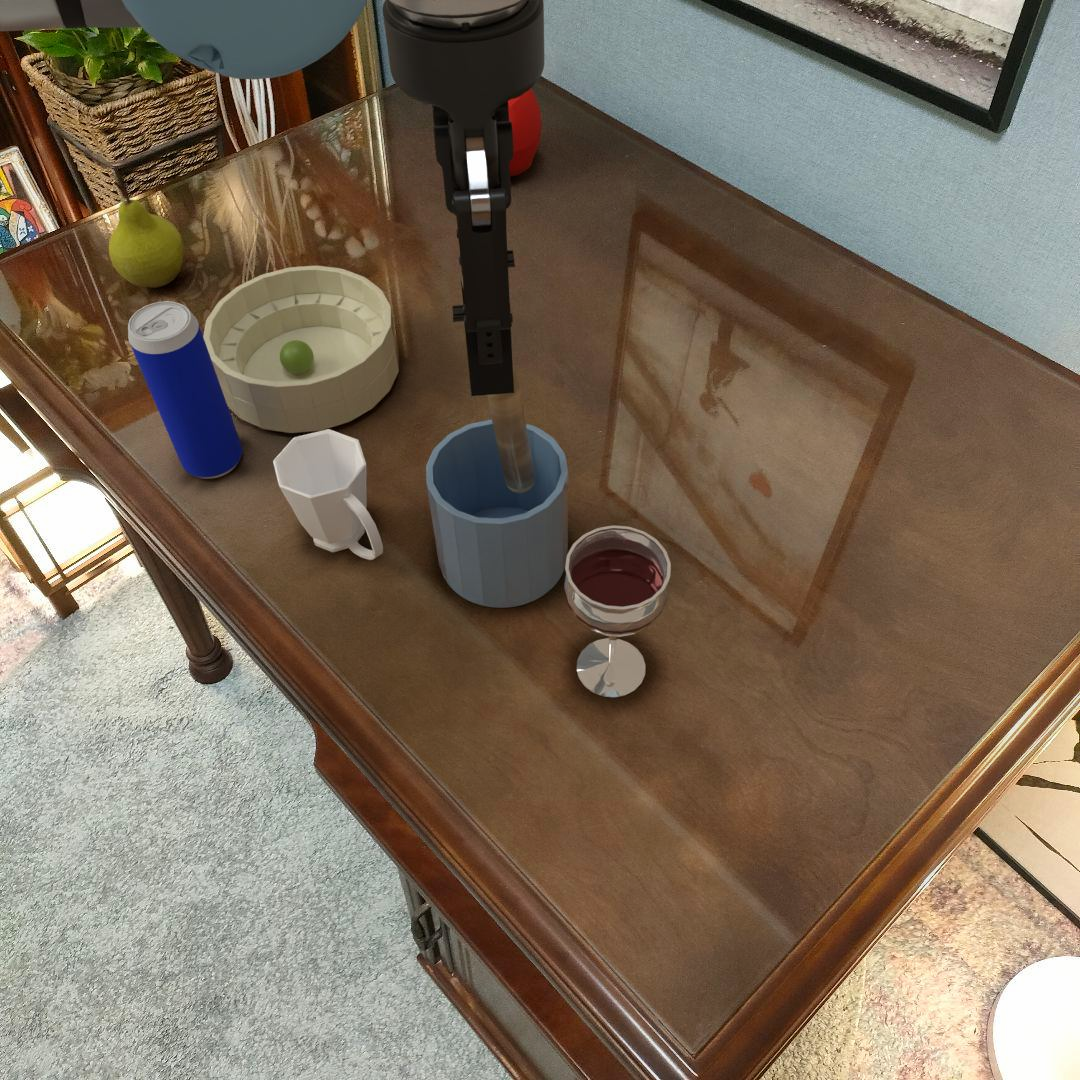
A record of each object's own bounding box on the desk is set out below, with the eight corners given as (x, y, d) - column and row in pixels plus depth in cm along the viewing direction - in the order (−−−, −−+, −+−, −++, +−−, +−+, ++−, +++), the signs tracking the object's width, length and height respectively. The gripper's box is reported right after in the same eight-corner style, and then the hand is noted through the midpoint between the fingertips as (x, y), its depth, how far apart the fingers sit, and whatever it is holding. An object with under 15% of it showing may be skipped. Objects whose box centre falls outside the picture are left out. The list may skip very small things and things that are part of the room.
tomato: (551, 141, 118) (550, 64, 111) (526, 199, 111) (524, 120, 104) (462, 131, 120) (456, 55, 113) (432, 188, 112) (424, 110, 105)
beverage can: (221, 429, 89) (170, 289, 78) (256, 459, 87) (208, 319, 75) (171, 460, 87) (110, 321, 75) (205, 492, 85) (148, 353, 73)
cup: (348, 484, 85) (331, 414, 79) (421, 554, 80) (409, 486, 74) (277, 528, 82) (253, 459, 76) (348, 603, 77) (329, 536, 71)
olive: (297, 355, 94) (279, 334, 92) (324, 353, 93) (306, 331, 91) (287, 381, 93) (268, 361, 91) (314, 379, 92) (295, 358, 90)
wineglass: (674, 690, 72) (690, 591, 63) (585, 721, 71) (588, 624, 61) (635, 616, 76) (645, 512, 67) (550, 644, 75) (548, 542, 65)
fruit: (135, 258, 105) (93, 151, 96) (200, 259, 105) (165, 151, 96) (115, 301, 101) (69, 192, 92) (183, 301, 101) (144, 193, 91)
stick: (509, 501, 73) (460, 278, 58) (505, 479, 75) (456, 255, 59) (539, 496, 73) (498, 270, 58) (534, 474, 75) (493, 248, 59)
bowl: (212, 444, 88) (193, 393, 84) (230, 324, 98) (213, 272, 94) (400, 429, 89) (391, 378, 84) (398, 311, 99) (390, 259, 94)
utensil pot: (441, 614, 77) (428, 530, 69) (437, 512, 83) (424, 424, 75) (573, 602, 77) (575, 517, 69) (559, 501, 83) (559, 413, 76)
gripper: (560, 66, 42) (562, 456, 61) (528, -79, 52) (537, 296, 70) (380, 78, 42) (436, 466, 60) (380, -70, 52) (429, 304, 70)
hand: (490, 374), depth 65 cm, fingers closed on stick, 2 cm apart
